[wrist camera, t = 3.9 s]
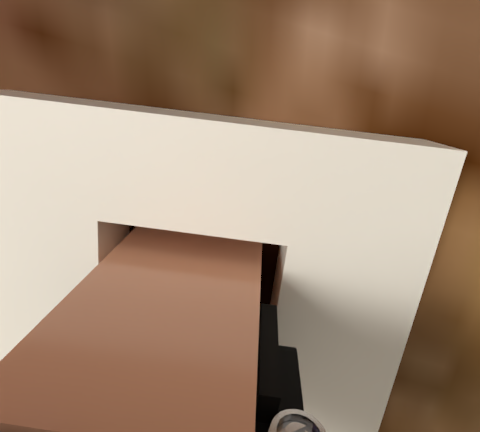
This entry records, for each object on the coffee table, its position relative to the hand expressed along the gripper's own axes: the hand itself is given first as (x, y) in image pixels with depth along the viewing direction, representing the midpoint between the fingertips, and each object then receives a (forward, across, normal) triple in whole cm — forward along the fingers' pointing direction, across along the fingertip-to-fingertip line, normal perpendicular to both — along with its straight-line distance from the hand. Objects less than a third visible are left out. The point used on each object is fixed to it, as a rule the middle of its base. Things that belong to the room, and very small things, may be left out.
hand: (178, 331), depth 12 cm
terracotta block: (+4, 0, 0) cm, 4 cm away
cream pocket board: (+4, 0, 0) cm, 4 cm away
